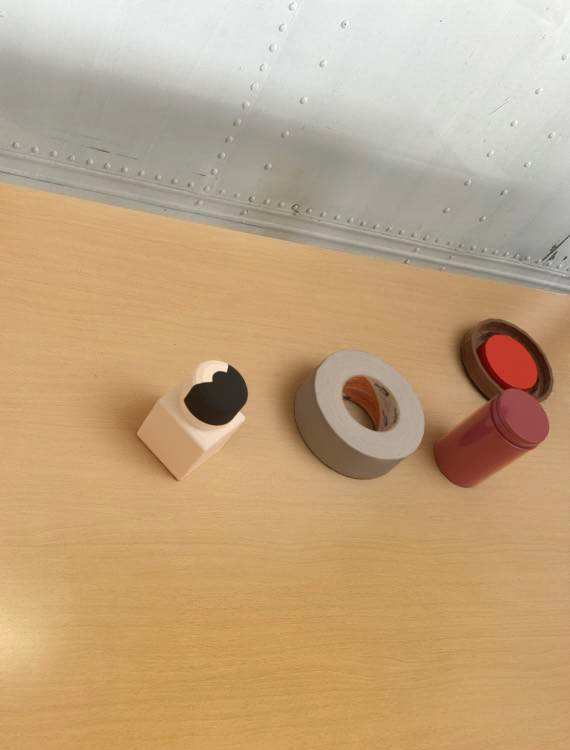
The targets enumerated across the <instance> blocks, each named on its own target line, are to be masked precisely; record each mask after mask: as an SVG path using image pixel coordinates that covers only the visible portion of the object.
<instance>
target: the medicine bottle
mask: <svg viewBox="0 0 570 750" xmlns="http://www.w3.org/2000/svg"><path fill="white" fill-rule="evenodd" d="M248 397H249V390H248V386H247V382H246V380H245V379H244V377H243V375H242V374H241V373H240V371H238V369H236V368H235V367H234V366H233V365H231V364H229V363H227V362H225V361H221V360H215V359H210V360H204V361H203V362H201V363H199V364H198V365H196V366H195V368H194V369H193V371H192V373H191V374H190V376H189V377H188V378H187V379H186V380H184V381H183V382H181V383H180V384H178V385H177V386H175V387H174V388H173V389H171V390H169V391H168V392H167V393H165V394H164V395H163V396H161V397H160V398H158V399H157V401H156V402H155V404H154V406H153V407H152V408H151V410H150V412H149V413H148V415H147V416H146V418H145V420H144V421H143V423H142V424H141V425H140V427H139V428H138V430H137V432H136V436H137V437H138V438H139V439H140V441H142V442H143V444H144V445H145V446H146V447H147V448H148V449H149V450H150V451H151V452H152V454H154V456H155V457H156V458H157V459H158V460H159V461H160V462H161V464H162V465H163V466H164V467H166V469H167V470H168V471H169V472H170V473H171V474H172V475H173V477H174V478H175V479H176V480H178V481H183V480H184V479H185V478H187V477H188V475H190V474H192V473H194V471H195V470H196V469H198V468H200V466H201V465H202V464H204V463H205V462H207V461H208V460H209V459H210V458H212V456H214V455H215V454H216V453H218V452H219V451H220V450H221V448H222V447H224V446H225V444H226V443H227V442H228V440H229V439H230V438H232V436H233V435H234V434H235V432H236V431H237V430H238V429H239V428H240V427H241V425H242V424H244V422H245V421H246V416H245V415H244V414H243V413H242V412H241V410H242V409H243V408H244V406H245V405H246V404H247V402H248Z"/></svg>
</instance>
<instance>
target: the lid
mask: <svg viewBox="0 0 570 750" xmlns="http://www.w3.org/2000/svg"><path fill="white" fill-rule="evenodd" d="M477 355H478V358H479V360H480V363H481V365H482V366H483V368H484V369H485V371H486V372H487V374H488V375H489V377H490V378H491V379H492V380H493V381H494V382H495V383H496V384H497V385H498V386H499V387H500V388H502V389H503V390H507V389H519V390H522V391H524V392H526V391H528V390H529V389H531V387H532V386H533V385H534V384H535V383H536V381H537V368H536V365H535V362H534V360H533V358H532V357H531V355H530V354H529V352H528V351H527V350H526V349H525V348H524V347H523V346H522V345H521V344H520V343H519V342H517V341H516V340H514V339H512V338H511V337H508V336H505V335H494V336H492V337H490V338H489V339H487V340H486V341H485V342H483V343H482V345H481V346H480V347H479V349H478V351H477Z"/></svg>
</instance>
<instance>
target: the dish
mask: <svg viewBox="0 0 570 750" xmlns="http://www.w3.org/2000/svg"><path fill="white" fill-rule="evenodd" d="M494 335H505V336H508V337H511V338H512V339H514V340H516V341H517V342H519V343H520V344H521V345H522V346H523V347H524V348H525V349H526V350H527V351H528V352H529V354H530V355H531V357H532V358H533V360H534V362H535V365H536V368H537V381H536V383H535V384H534V385H533V386H532V387H531V389H529V390H528V391H526V393H528V394H530V395H531V396H532V397H534V398H535V399H536V400H537V401H538V402H539V403H540V405H541V404H543V403H544V402H545V401H546V400H548V398H549V397H550V395H551V394H552V393H553V389H554V382H555V380H554V373H553V369H552V366H551V364H550V362H549V359H548V357H547V355H546V353H545V352H544V350H542V349H543V348H542V347H541V346H540V345H539V344H538V342H537V341H536V340H535V339H534V338H533V337H532V336H531V335H530V334H529V333H528V332H527V331H525V330H524V329H522V328H521V327H519V326H518V325H516V324H514V323H513V322H509V321H508V320H505V319H502V318H494V317H493V318H492V317H491V318H486V319H483V320H481V321H479V322H478V323H477V324H476V325H474V327H472V328H471V329H470V330H469V331H468V332H467V333H466V335H464V337H463V340H462V345H461V355H462V362H463V364H464V367H465V370H466V372H467V374H468V376H469V378H470V379H471V380H472V382H473V383H474V385H475V386H476V387H477V388H478V389H479V390H480V391H481V392H482V393H483V395H485V396H486V397H487V398H488V399H489V400H490V399H492V398H493V397H494V396H496V395H498V394H501V393H502V392H503V391H505V390H503V389H502V388H500V387H499V386H498V385H497V384H496V383H495V382H494V381H493V380H492V379H491V378H490V377H489V375H488V374H487V372H486V371H485V369H484V368H483V366H482V365H481V363H480V360H479V358H478V355H477V351H478V349H479V347H480V346H481V345H482V343H483V342H485V341H486V340H487V339H489V338H490V337H492V336H494Z"/></svg>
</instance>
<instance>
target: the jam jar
mask: <svg viewBox="0 0 570 750" xmlns="http://www.w3.org/2000/svg"><path fill="white" fill-rule="evenodd" d="M549 433H550V420H549V417H548V415H547V412H546V411H545V409H544V407H543V406H542V405H541V404H540V403H539V402H538V401H537V400H536V399H535V398H534V397H532V396H531V395H530V394H528V393H526V392H524V391H522V390H519V389H507V390H505V391H503V392H502V393H501V394H498V395H496V396H494V397H493V398H492V399H489V400H487V401H486V402H485V403H484V404H482V405H481V406H480V407H478V408H477V409H476V410H474V411H473V412H472V413H471V414H469V415H468V416H466V417H465V418H464V419H462V420H461V421H460V422H458V423H457V424H456V425H454V426H453V427H452V428H451V429H449V430H448V431H446V432H445V433H444V434H443V435H441V436H440V437H439V438H437V440H436V442H435V444H434V452H433V453H434V459H435V461H436V465H437V466H438V468H439V470H440V471H441V473H442V474H443V475H444V476H445V477H446V478H447V480H449V481H450V482H452V483H453V484H455V485H457V486H458V487H461V488H467V489H468V488H469V489H470V488H475V487H477V486H478V485H480V484H483V482H485V481H487V480H489V478H491V477H493V476H494V475H496V474H497V473H499V472H500V471H502V470H503V469H505V468H507V467H509V466H510V465H512V464H513V463H515V462H516V461H518V460H519V459H521V458H522V457H524V456H525V455H528V453H530V452H532V451H533V450H534V449H536V448H537V447H538V446H539V445H540V444H541V443H543V442H544V441H545V439H546V438H548V435H549Z"/></svg>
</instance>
